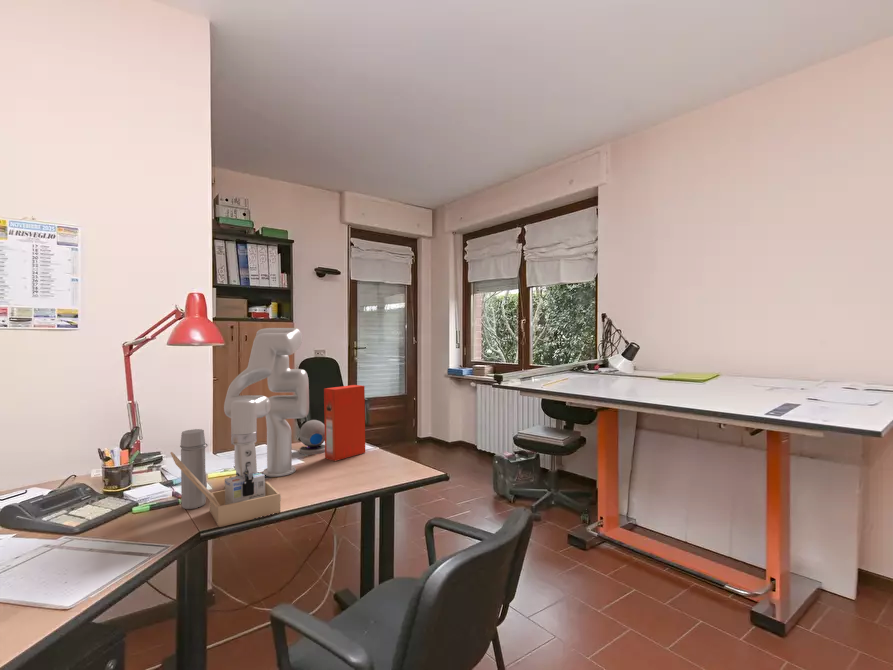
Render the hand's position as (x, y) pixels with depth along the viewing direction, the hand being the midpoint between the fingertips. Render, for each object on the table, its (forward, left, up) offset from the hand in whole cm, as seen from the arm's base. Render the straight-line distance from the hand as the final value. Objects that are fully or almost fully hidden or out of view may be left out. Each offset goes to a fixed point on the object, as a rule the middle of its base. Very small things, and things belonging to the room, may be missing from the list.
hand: (244, 491), depth 145 cm
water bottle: (-15, -12, -7) cm, 20 cm away
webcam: (-59, +44, -7) cm, 74 cm away
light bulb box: (0, 0, -6) cm, 6 cm away
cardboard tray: (0, 0, -7) cm, 7 cm away
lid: (0, -14, +7) cm, 16 cm away
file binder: (-42, +53, -7) cm, 68 cm away
